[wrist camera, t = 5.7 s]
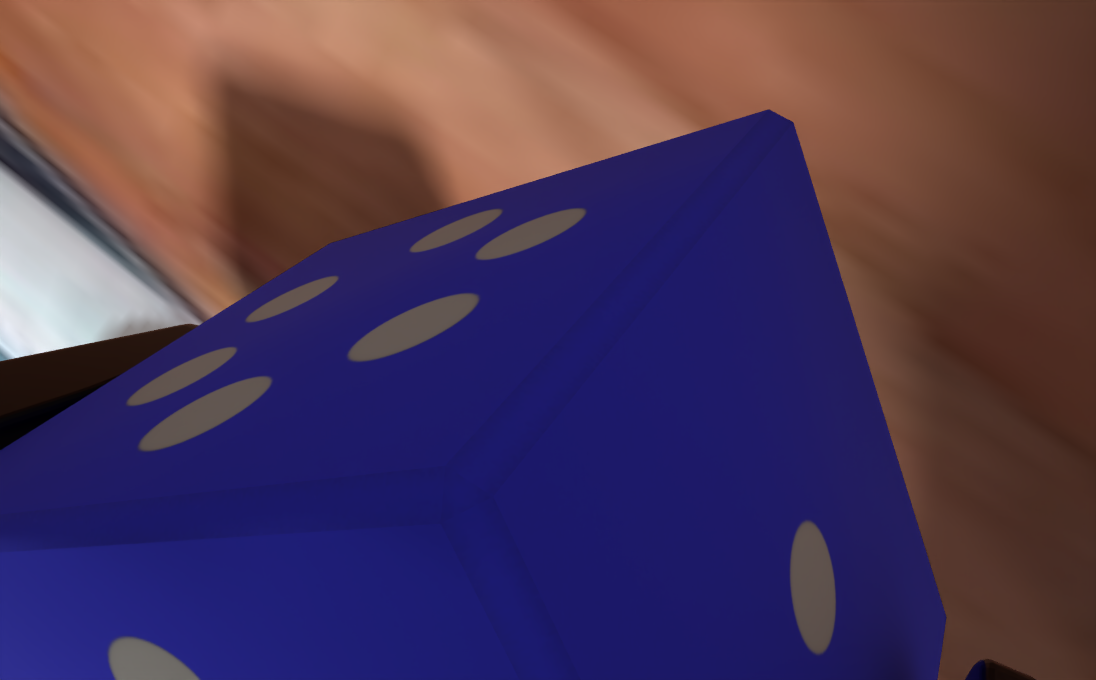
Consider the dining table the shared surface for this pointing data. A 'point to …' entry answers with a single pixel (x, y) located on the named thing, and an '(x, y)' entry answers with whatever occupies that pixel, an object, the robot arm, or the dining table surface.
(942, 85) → the dining table surface
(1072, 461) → the dining table surface
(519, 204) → the die
